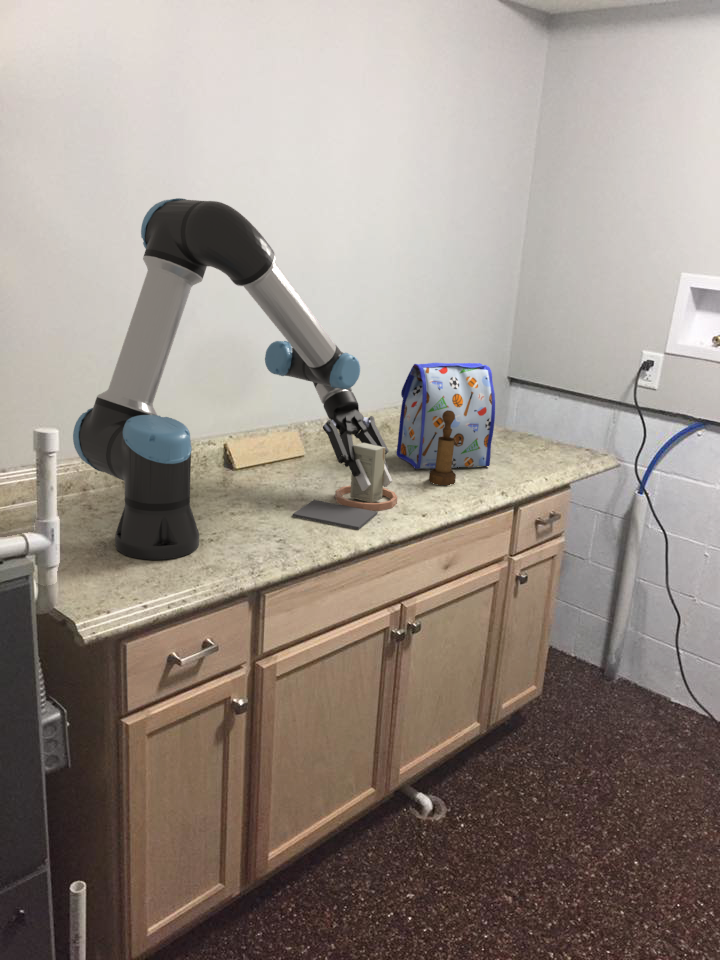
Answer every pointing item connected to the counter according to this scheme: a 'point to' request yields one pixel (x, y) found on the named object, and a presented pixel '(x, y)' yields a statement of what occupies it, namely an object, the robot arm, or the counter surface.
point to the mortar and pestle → (444, 454)
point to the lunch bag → (437, 393)
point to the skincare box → (369, 472)
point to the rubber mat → (335, 514)
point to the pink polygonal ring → (366, 506)
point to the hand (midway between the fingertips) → (377, 485)
